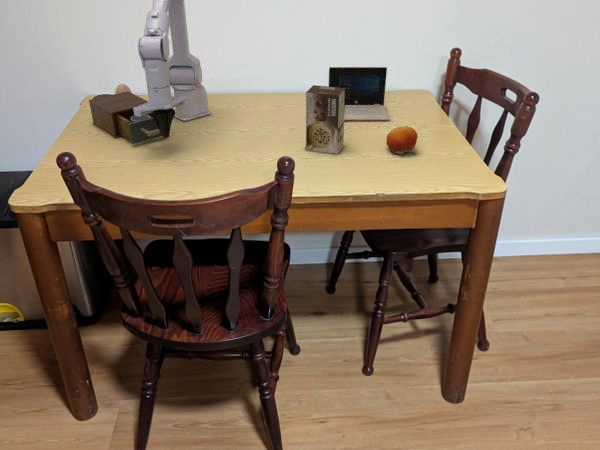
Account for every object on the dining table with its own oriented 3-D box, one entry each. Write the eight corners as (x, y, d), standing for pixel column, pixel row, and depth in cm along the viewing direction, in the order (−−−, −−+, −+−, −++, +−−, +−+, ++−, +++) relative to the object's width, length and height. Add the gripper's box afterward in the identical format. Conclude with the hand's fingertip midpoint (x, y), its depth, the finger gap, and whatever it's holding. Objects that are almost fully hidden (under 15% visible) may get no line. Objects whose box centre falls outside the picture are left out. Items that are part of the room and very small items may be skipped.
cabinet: (155, 127, 164) (151, 102, 160) (115, 138, 157) (111, 112, 153) (131, 114, 173) (128, 91, 169) (93, 124, 166) (88, 99, 162)
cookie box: (343, 145, 153) (346, 87, 145) (337, 154, 148) (340, 95, 139) (312, 141, 155) (313, 84, 147) (304, 150, 150) (305, 91, 142)
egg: (113, 105, 180) (109, 84, 177) (125, 101, 184) (122, 80, 180) (124, 108, 178) (121, 87, 174) (136, 103, 182) (133, 83, 178)
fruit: (402, 156, 143) (395, 126, 143) (385, 161, 150) (379, 132, 150) (427, 150, 146) (420, 120, 146) (410, 155, 154) (403, 127, 153)
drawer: (178, 139, 154) (176, 119, 151) (142, 150, 148) (139, 129, 145) (146, 121, 166) (143, 102, 163) (110, 130, 159) (107, 111, 156)
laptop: (330, 121, 169) (331, 78, 162) (327, 107, 179) (328, 66, 173) (389, 121, 169) (393, 78, 162) (383, 107, 180) (387, 66, 173)
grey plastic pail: (146, 125, 160) (144, 112, 158) (155, 130, 156) (153, 118, 155) (129, 130, 157) (126, 117, 155) (138, 135, 153) (136, 122, 151)
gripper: (140, 95, 134) (148, 147, 141) (192, 83, 142) (196, 133, 149) (126, 88, 138) (134, 139, 145) (177, 77, 146) (182, 126, 153)
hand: (165, 136), depth 147 cm, fingers closed
